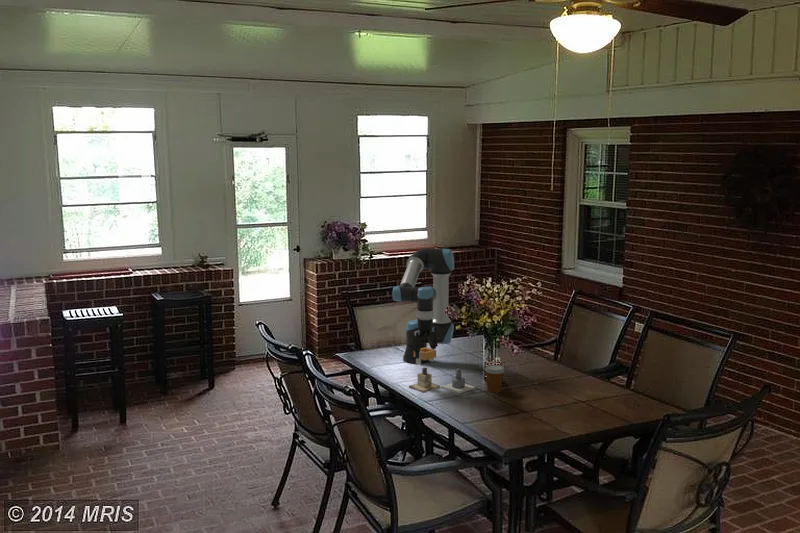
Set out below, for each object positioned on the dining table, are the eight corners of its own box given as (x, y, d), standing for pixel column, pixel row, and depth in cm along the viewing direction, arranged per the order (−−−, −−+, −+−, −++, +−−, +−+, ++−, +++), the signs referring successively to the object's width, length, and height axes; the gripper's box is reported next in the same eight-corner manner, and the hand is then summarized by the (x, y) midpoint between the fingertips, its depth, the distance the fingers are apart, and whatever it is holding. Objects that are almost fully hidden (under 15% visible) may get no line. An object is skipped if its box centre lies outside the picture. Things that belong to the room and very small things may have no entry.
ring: (425, 353, 373) (425, 347, 372) (436, 357, 367) (436, 350, 366) (413, 356, 368) (413, 350, 367) (424, 360, 362) (424, 353, 361)
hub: (458, 383, 376) (458, 364, 375) (475, 388, 367) (475, 369, 366) (441, 388, 369) (441, 368, 367) (458, 393, 360) (458, 374, 358)
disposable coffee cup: (503, 394, 359) (503, 370, 357) (483, 393, 361) (484, 369, 359) (504, 388, 368) (505, 365, 367) (485, 387, 370) (485, 364, 368)
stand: (426, 382, 377) (426, 364, 375) (440, 387, 369) (440, 368, 368) (408, 387, 369) (409, 368, 367) (422, 392, 361) (422, 372, 360)
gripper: (435, 313, 373) (434, 357, 377) (404, 320, 360) (404, 365, 364) (445, 316, 368) (445, 360, 372) (414, 323, 354) (414, 368, 358)
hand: (424, 362), depth 368 cm, fingers closed on ring, 8 cm apart
